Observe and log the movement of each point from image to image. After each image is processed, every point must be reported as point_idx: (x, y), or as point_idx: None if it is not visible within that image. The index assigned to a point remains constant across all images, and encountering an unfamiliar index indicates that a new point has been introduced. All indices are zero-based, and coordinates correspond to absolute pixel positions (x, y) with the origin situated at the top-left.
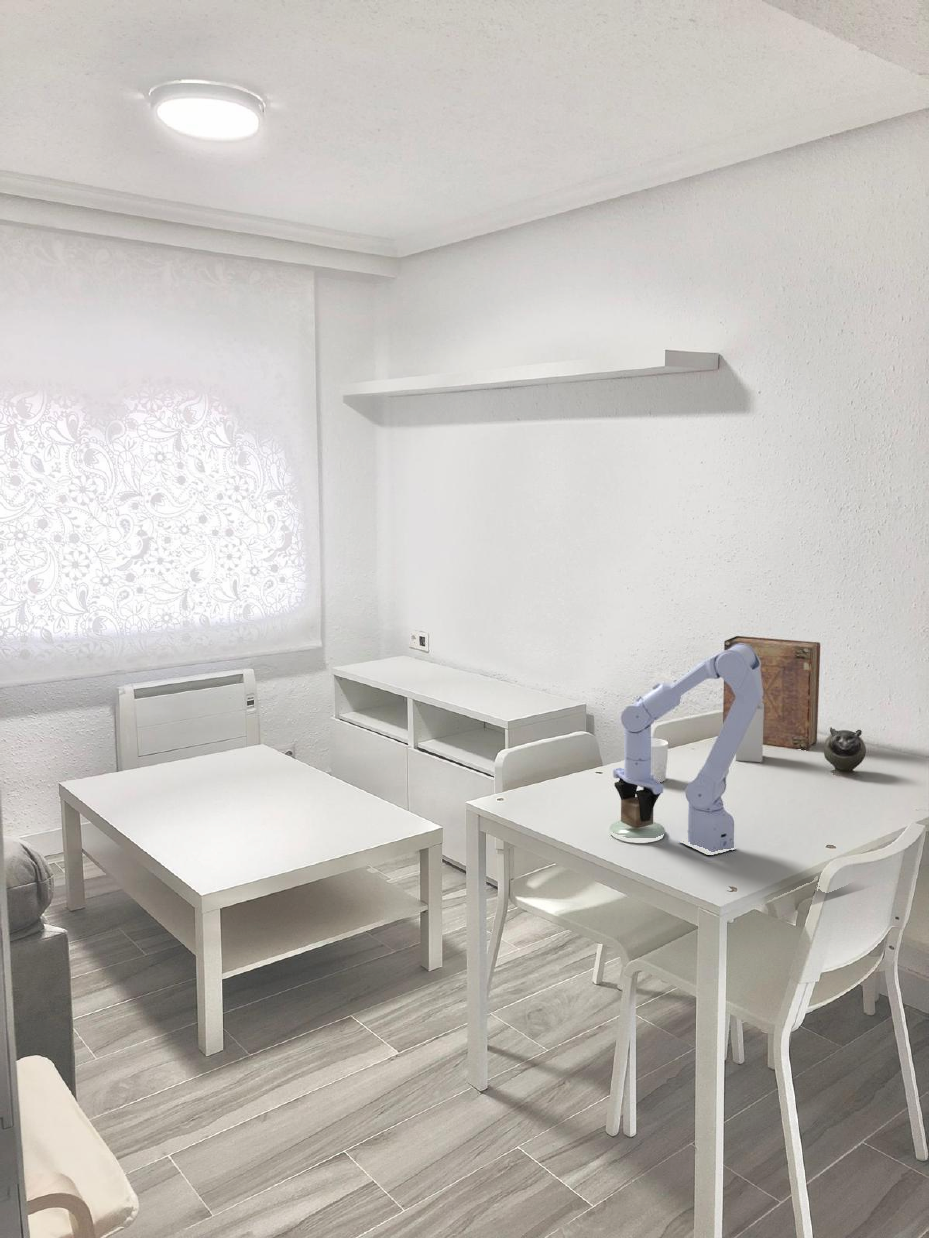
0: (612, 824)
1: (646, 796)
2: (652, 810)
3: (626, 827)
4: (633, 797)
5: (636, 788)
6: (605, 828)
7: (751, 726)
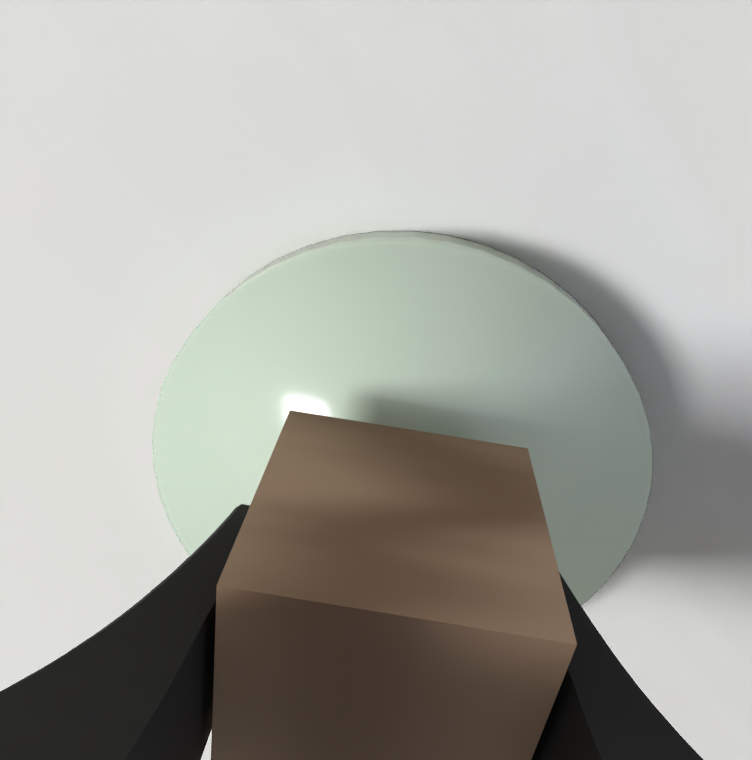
0: (195, 548)
1: None
2: (599, 634)
3: None
4: (221, 663)
5: (154, 728)
6: (158, 531)
7: None
